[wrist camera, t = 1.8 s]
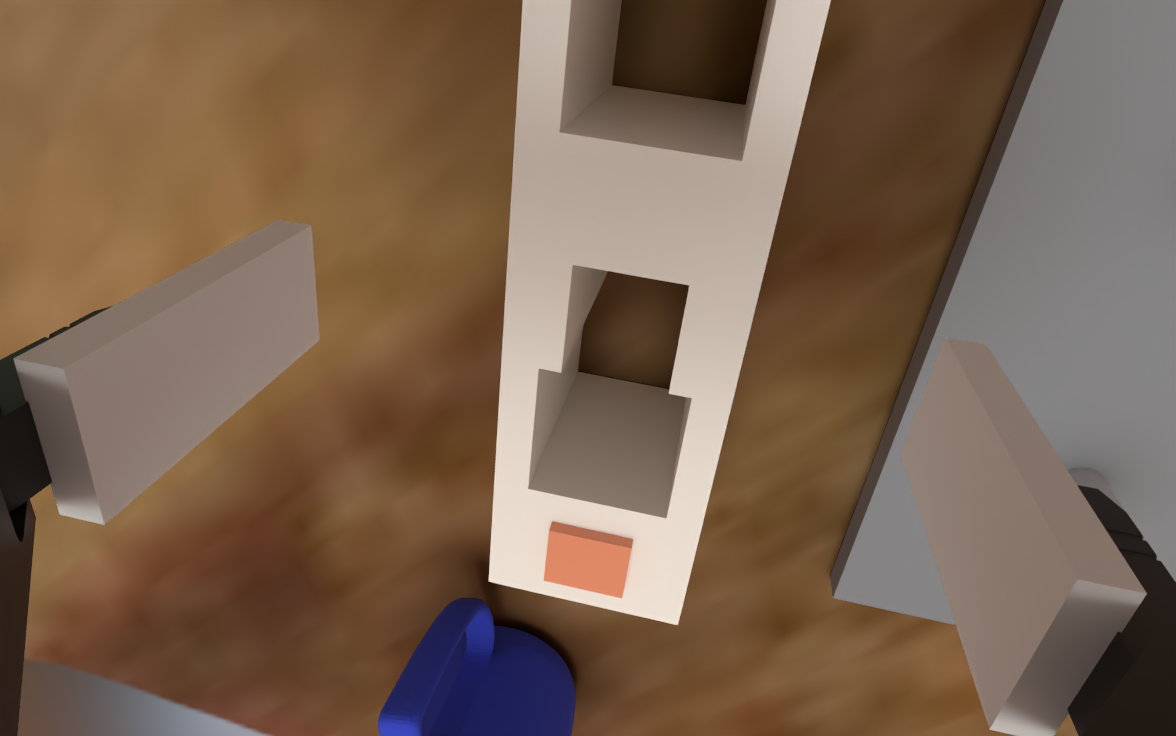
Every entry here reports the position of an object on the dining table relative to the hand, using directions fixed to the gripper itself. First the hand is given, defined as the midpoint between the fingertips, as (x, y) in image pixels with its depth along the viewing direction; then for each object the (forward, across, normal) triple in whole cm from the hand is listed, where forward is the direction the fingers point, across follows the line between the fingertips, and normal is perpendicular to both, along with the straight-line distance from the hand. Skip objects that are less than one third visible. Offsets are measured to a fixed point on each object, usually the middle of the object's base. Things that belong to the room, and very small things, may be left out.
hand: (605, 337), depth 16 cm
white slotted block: (+10, 0, +1) cm, 10 cm away
